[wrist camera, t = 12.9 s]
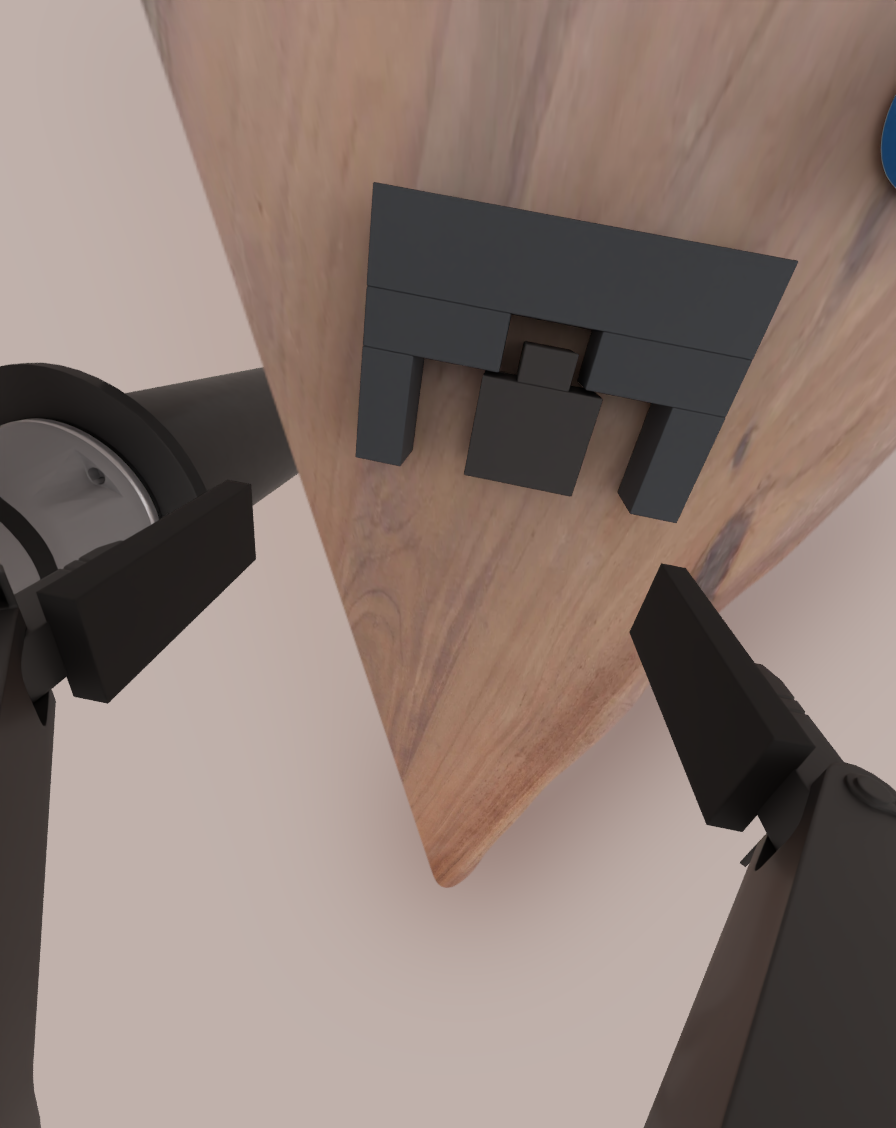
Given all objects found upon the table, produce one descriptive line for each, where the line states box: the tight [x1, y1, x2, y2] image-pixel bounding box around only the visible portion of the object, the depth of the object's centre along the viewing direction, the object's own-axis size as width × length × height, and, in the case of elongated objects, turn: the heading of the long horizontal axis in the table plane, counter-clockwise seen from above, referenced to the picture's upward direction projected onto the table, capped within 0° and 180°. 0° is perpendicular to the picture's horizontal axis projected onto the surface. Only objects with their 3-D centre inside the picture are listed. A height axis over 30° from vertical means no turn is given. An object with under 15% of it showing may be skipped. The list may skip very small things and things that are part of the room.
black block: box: [464, 341, 603, 496], centre depth 28 cm, size 7×8×4 cm
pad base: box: [356, 182, 798, 523], centre depth 27 cm, size 21×14×4 cm, turn 80°
